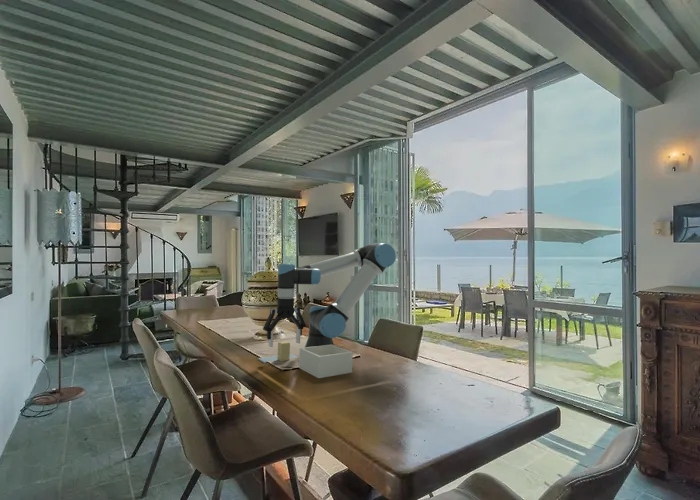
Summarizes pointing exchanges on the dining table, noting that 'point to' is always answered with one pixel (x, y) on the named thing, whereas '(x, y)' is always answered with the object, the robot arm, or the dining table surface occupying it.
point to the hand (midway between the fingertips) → (284, 344)
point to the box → (325, 360)
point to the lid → (280, 353)
